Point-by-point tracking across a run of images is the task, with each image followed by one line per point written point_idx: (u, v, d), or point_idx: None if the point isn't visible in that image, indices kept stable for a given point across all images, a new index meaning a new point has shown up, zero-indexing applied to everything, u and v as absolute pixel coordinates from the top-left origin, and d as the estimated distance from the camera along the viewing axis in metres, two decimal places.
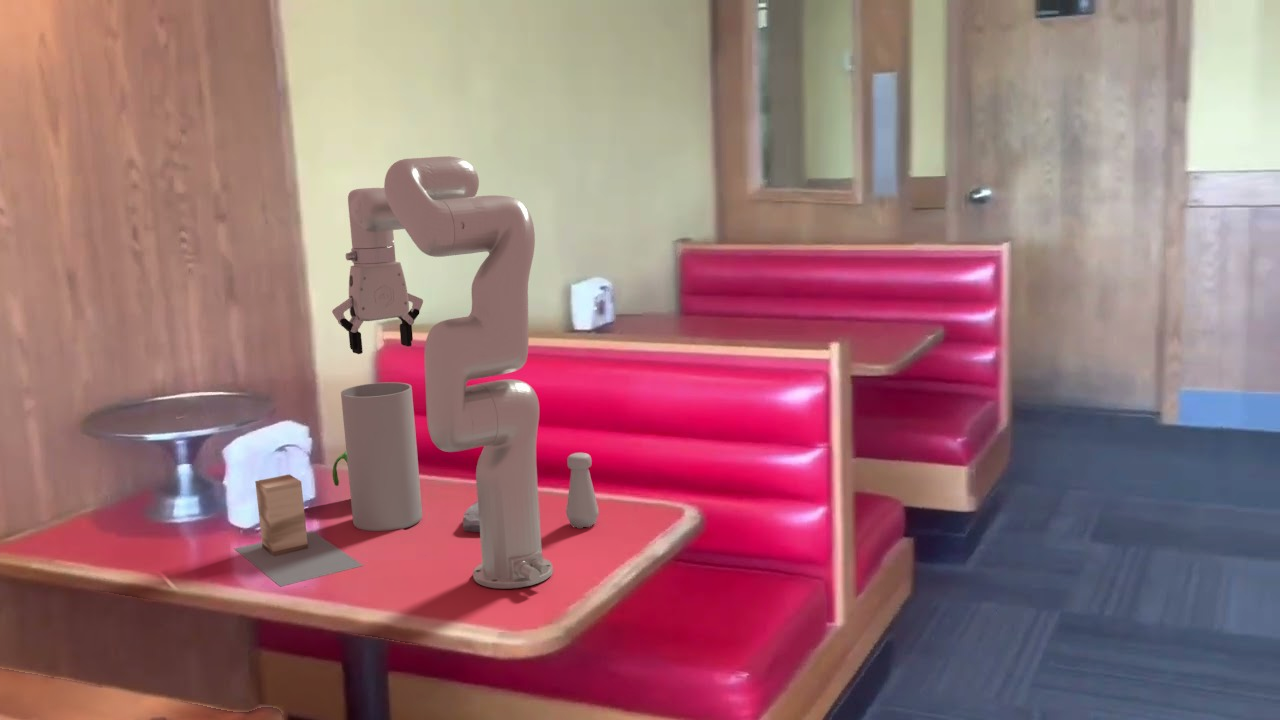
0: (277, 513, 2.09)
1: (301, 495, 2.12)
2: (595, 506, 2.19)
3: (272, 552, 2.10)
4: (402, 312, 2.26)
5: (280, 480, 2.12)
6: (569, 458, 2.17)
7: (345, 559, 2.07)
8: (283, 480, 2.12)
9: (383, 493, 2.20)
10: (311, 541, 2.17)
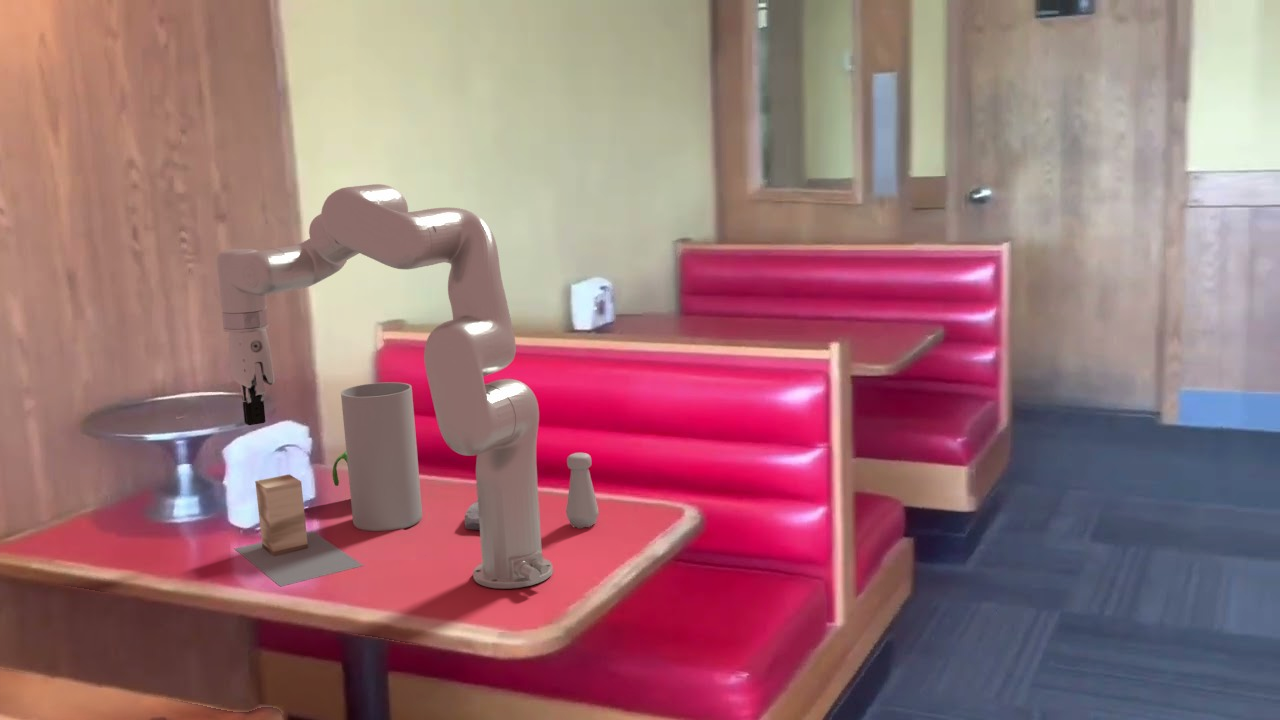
0: (277, 513, 2.09)
1: (301, 495, 2.12)
2: (595, 506, 2.19)
3: (272, 552, 2.10)
4: None
5: (280, 480, 2.12)
6: (569, 458, 2.17)
7: (345, 559, 2.07)
8: (283, 480, 2.12)
9: (383, 493, 2.20)
10: (311, 541, 2.17)
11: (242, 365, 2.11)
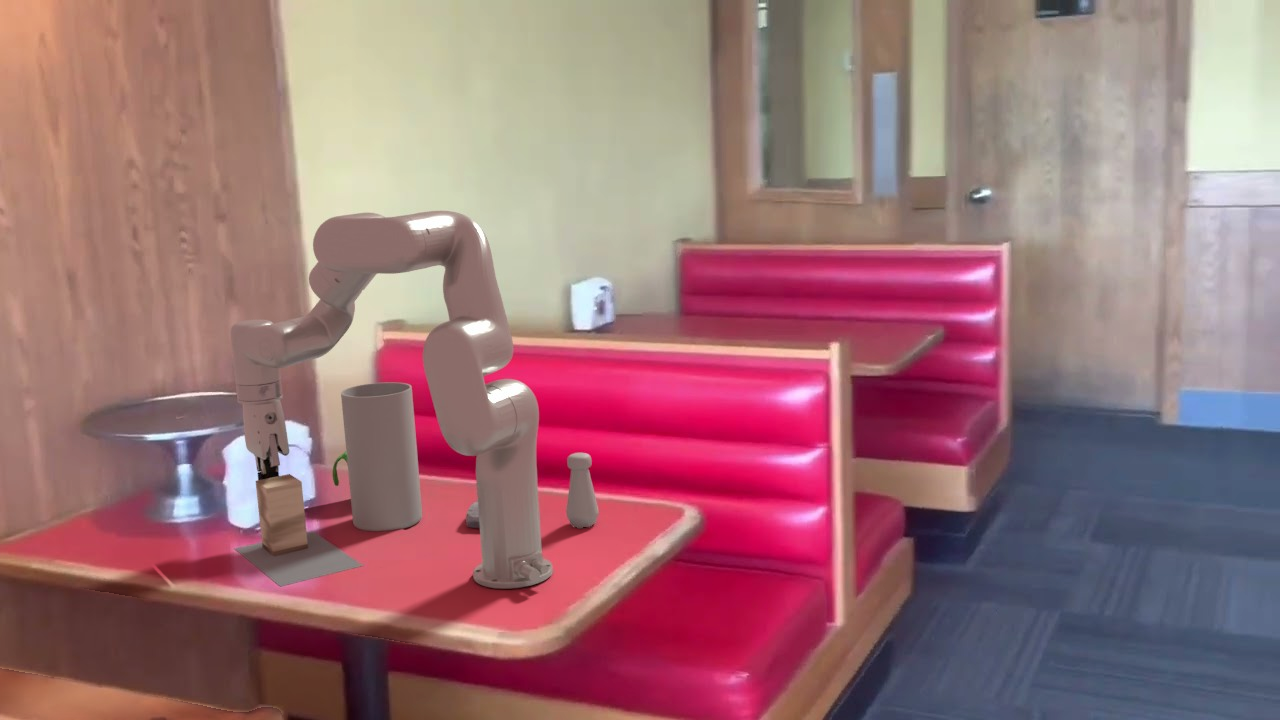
0: (277, 514, 2.09)
1: (301, 495, 2.11)
2: (595, 506, 2.19)
3: (272, 552, 2.10)
4: None
5: (280, 480, 2.12)
6: (569, 458, 2.17)
7: (345, 559, 2.07)
8: (283, 480, 2.12)
9: (383, 493, 2.20)
10: (311, 541, 2.17)
11: (257, 437, 2.11)
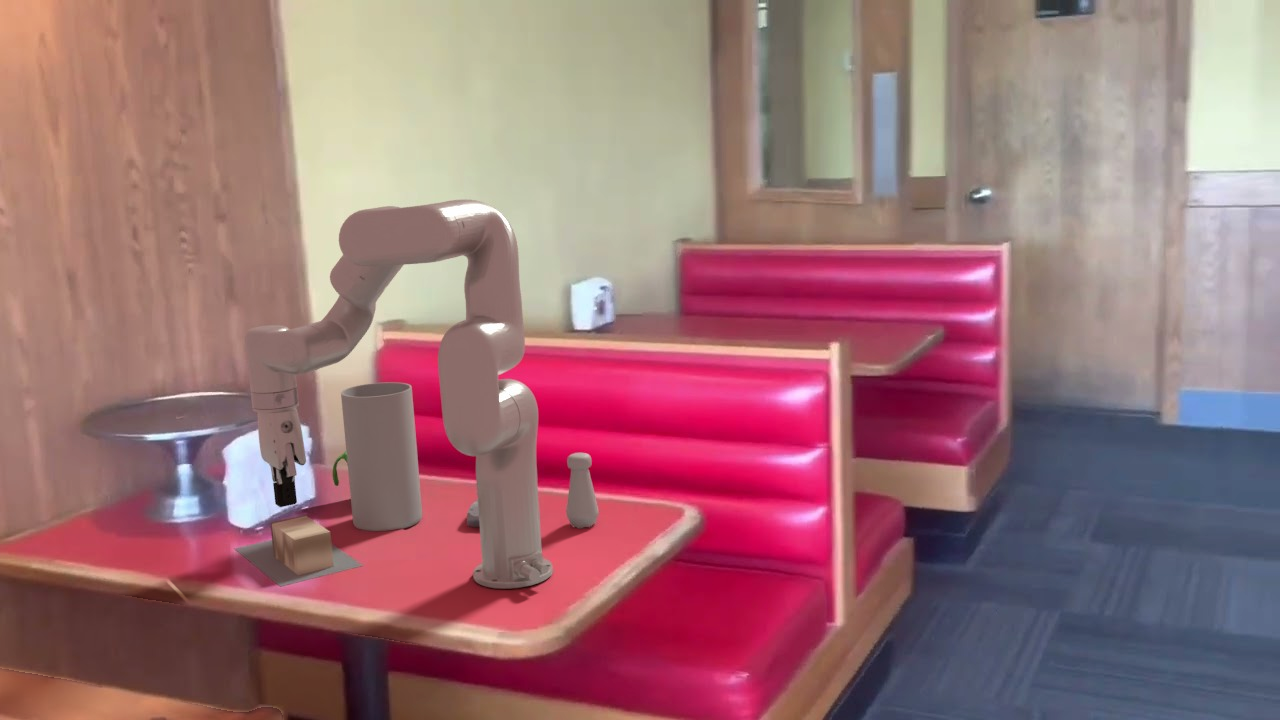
0: None
1: None
2: (595, 506, 2.19)
3: (274, 554, 2.10)
4: None
5: (317, 551, 2.02)
6: (569, 458, 2.17)
7: (345, 559, 2.07)
8: (319, 553, 2.02)
9: (383, 493, 2.20)
10: None
11: (272, 446, 2.04)
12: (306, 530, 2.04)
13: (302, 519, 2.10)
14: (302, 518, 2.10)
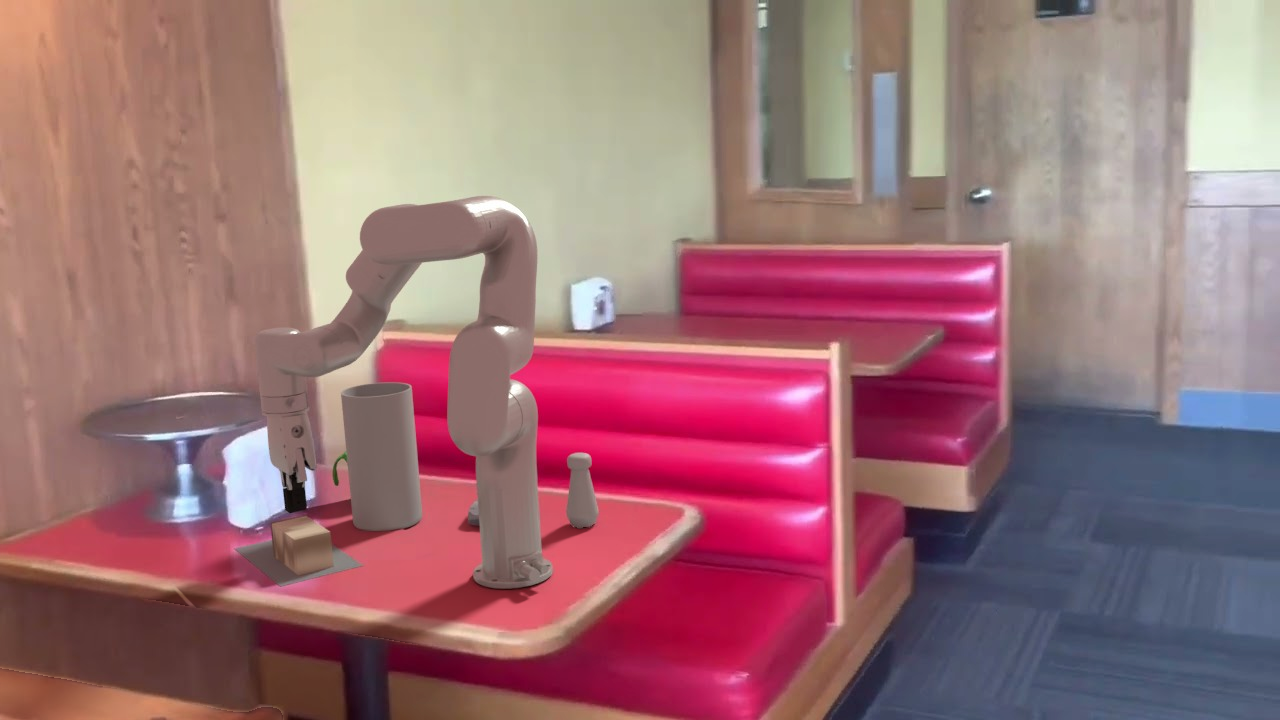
0: None
1: None
2: (595, 506, 2.19)
3: (274, 554, 2.10)
4: None
5: (317, 551, 2.02)
6: (569, 458, 2.17)
7: (345, 559, 2.07)
8: (319, 553, 2.02)
9: (383, 493, 2.20)
10: None
11: (283, 451, 2.00)
12: (306, 530, 2.04)
13: (302, 519, 2.10)
14: (302, 518, 2.10)
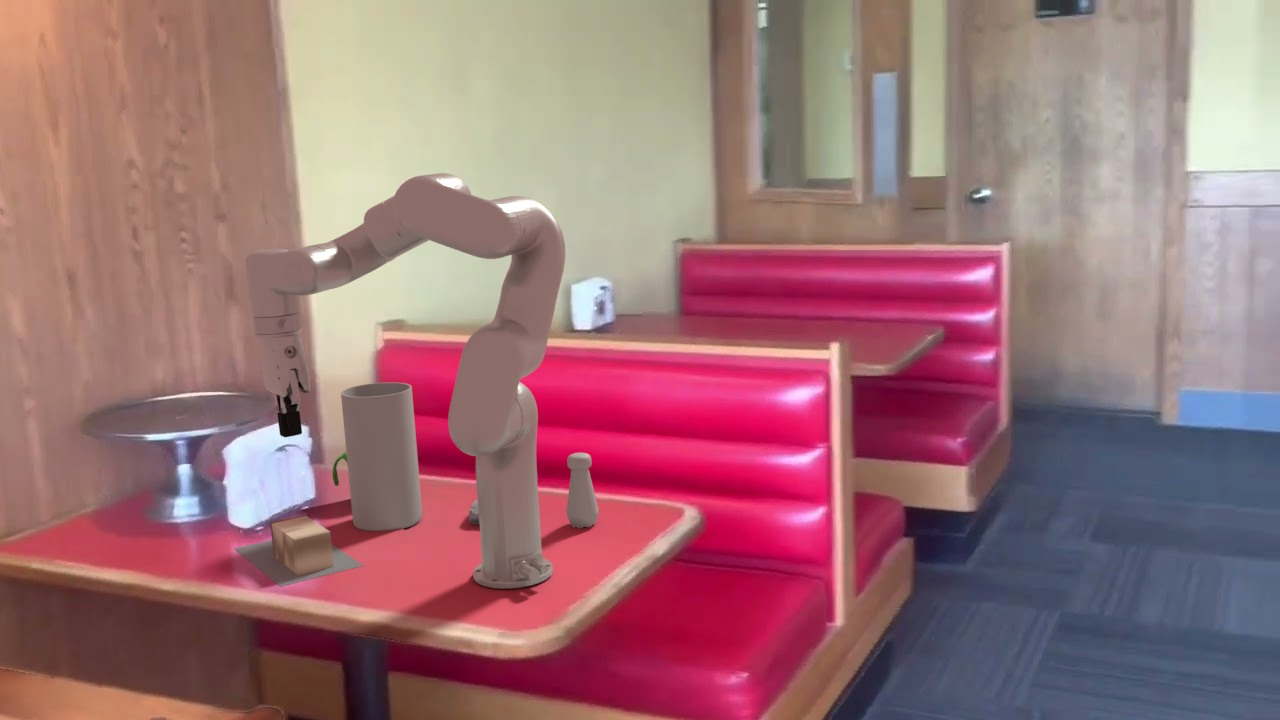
0: None
1: None
2: (595, 506, 2.19)
3: (274, 554, 2.10)
4: None
5: (317, 551, 2.02)
6: (569, 458, 2.17)
7: (345, 559, 2.07)
8: (319, 553, 2.02)
9: (383, 493, 2.20)
10: None
11: (276, 373, 1.98)
12: (306, 530, 2.04)
13: (302, 519, 2.10)
14: (302, 518, 2.10)
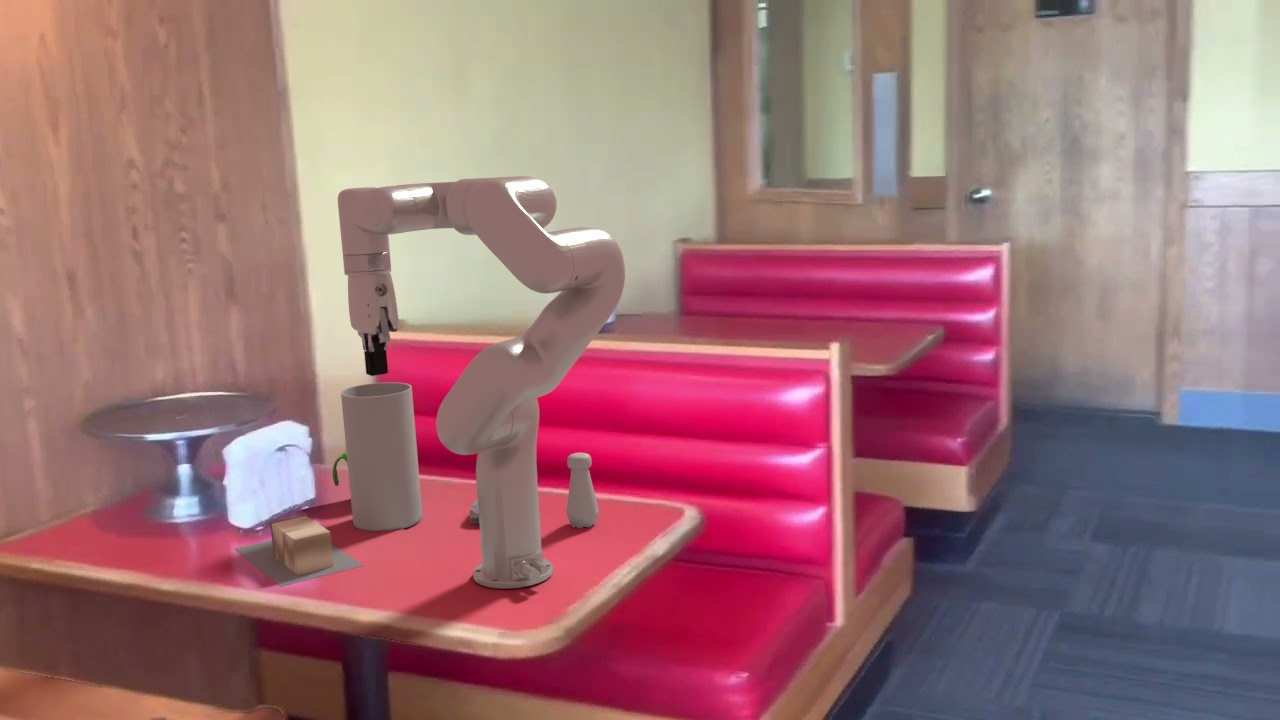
0: None
1: None
2: (595, 506, 2.19)
3: (274, 554, 2.10)
4: None
5: (317, 551, 2.02)
6: (569, 458, 2.17)
7: (345, 559, 2.07)
8: (319, 553, 2.02)
9: (383, 493, 2.20)
10: None
11: (366, 310, 1.99)
12: (306, 530, 2.04)
13: (302, 519, 2.10)
14: (302, 518, 2.10)
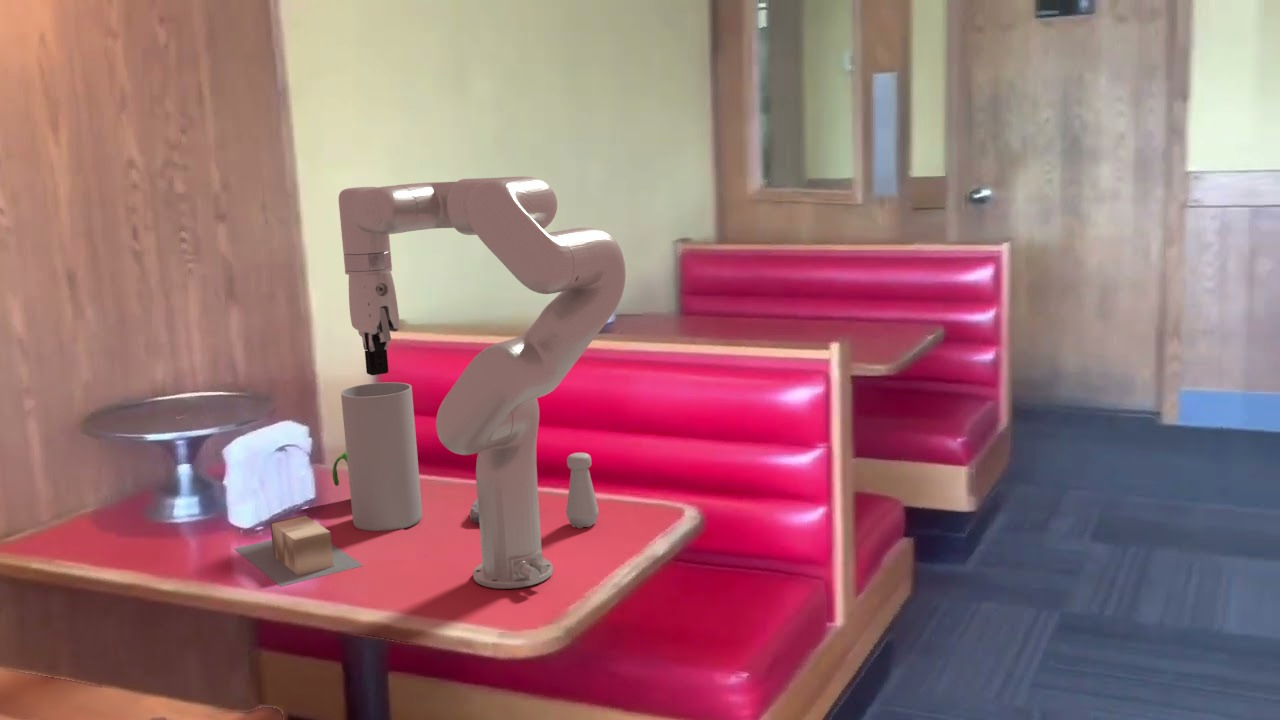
0: None
1: None
2: (595, 506, 2.19)
3: (274, 554, 2.10)
4: None
5: (317, 551, 2.02)
6: (569, 458, 2.17)
7: (345, 559, 2.07)
8: (319, 553, 2.02)
9: (383, 493, 2.20)
10: None
11: (367, 310, 1.99)
12: (306, 530, 2.04)
13: (302, 519, 2.10)
14: (302, 518, 2.10)
